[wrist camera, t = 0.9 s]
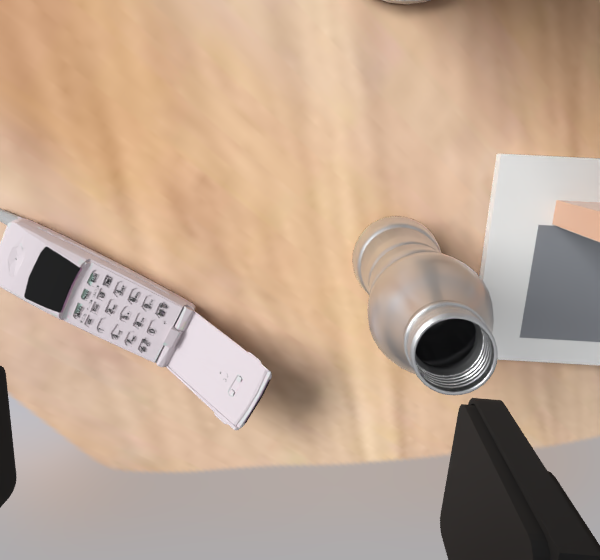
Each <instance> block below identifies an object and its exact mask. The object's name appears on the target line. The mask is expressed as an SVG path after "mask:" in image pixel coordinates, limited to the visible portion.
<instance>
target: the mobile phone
mask: <svg viewBox="0 0 600 560" xmlns="http://www.w3.org/2000/svg"><path fill="white" fill-rule="evenodd" d="M0 221H1V222H2V223H4V224H6V225H7V227H6V230H5V232H4V235H3V237H2V240H1V243H0V287H1V288H3V289H5V290H6V291H8V292H10V293H12V294H14V295H15V296H17V297H19V298H21V299H22V300H24V301H26V302H28V303H30V304H31V305H33V306H35V307H37V308H39V309H41V310H43V311H45V312H47V313H49V314H51V315H52V316H54V317H56V318H58V319H61V320H64V321H66V322H68V323H70V324H72V325H74V326H76V327H78V328H80V329H82V330H84V331H86V332H89V333H91V334H93V335H95V336H97V337H99V338H102V339H104V340H106V341H108V342H110V343H112V344H115V345H117V346H119V347H121V348H123V349H126V350H128V351H130V352H132V353H134V354H136V355H139V356H141V357H143V358H145V359H147V360H150V361H152V362H154V363H155V362H156V363H157V365H158V366H160V367H167V368H168V369H169V370H170V371H171V372H172V373H173V374H174V375H175V376H176V377H177V378H178V379H180V380H181V381H182V382H183V383H184V384H185V385H186V386H187V387H188V388H189V389H190V390H191V391H192V392H193V393H194V394H196V395H197V396H198V397H199V398H200V399H201V400H202V401H203V402H204V403H205V404H206V405H207V406H208V407H209V408H211V409H212V411H214V414H215V416H216V417H217V418H218V419H220V420H221V421H222V422H223V423H224V424H228V425H229V426H230V427H232V428H233V429H234V430H239V429H240V428H241V427H243V426H244V424H245V423H246V422H247V420H248V419H249V417H250V415H251V414H252V412H253V410H254V409H255V407H256V406H257V404H258V402H259V401H260V399H261V398H262V396H263V394H264V392H265V390H266V388H267V386H268V384H269V382H270V380H271V377H272V376H271V372H270V371H269V370H268V369H267V368H266V367H265V366H263V365H262V364H261V361H260V360H259V359H258V358H257V357H255V356H254V355H253V354H252V353H250V352H247V351H246V350H245V349H244V348H242V347H241V346H240V345H239V344H237V343H236V342H235V341H233V340H232V339H231V338H229V337H228V336H227V335H226V334H224V333H223V332H222V331H220V330H219V329H218V328H216V327H215V326H214V325H213V324H211V323H210V322H209V321H207V320H206V319H205V318H204V317H202V316H201V315H200V314H198V313H197V312H196V311H195V305H194V304H193V303H191V302H189V301H188V300H186V299H184V298H183V297H181V296H179V295H177V294H175V293H173V292H172V291H170V290H168V289H166V288H164V287H162V286H160V285H159V284H157V283H155V282H153V281H151V280H149V279H147V278H146V277H144V276H142V275H140V274H138V273H136V272H134V271H133V270H131V269H129V268H127V267H125V266H123V265H121V264H119V263H117V262H115V261H113V260H111V259H109V258H107V257H105V256H103V255H101V254H99V253H97V252H95V251H93V250H91V249H89V248H87V247H85V246H84V245H82V244H80V243H78V242H76V241H74V240H72V239H70V238H68V237H66V236H64V235H62V234H59V233H57V232H55V231H53V230H51V229H49V228H46V227H44V226H42V225H40V224H38V223H36V222H34V221H31V220H29V219H25V218H21V217H19V216H17V215H15V214H12V213H10V212H7V211H5V210H3V209H0ZM103 265H104V266H103ZM105 266H106V267H105Z"/></svg>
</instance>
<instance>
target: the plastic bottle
mask: <svg viewBox="0 0 600 560" xmlns="http://www.w3.org/2000/svg"><path fill="white" fill-rule="evenodd" d="M352 263H353V270H354V273H355V276H356V278H357V280H358V282H359V284H360V285H361V286H362V288H363V289H364V290H365V291H366V292H367V293H368V294H369V299H368V321H369V328H370V331H371V334H372V337H373V339H374V341H375V343H376V344H377V346H378V348H379V349H380V350H381V351H382V352H383V354H384V355H385V356H386V357H387V358H389V359H390V360H391V361H393V362H394V363H395V364H397V365H398V366H399V367H401V368H403V369H405V370H407V371H409V372H411V373H414V374H416V375H417V377H418V378H419V379H420V380H421V381H422V382H423V383H424V384H425V385H426V386H428V387H429V388H430V389H432V390H434V391H436V392H438V393H442V394H446V395H462V394H466V393H469V392H472V391H474V390H476V389H478V388H479V387H481V386H482V385H483V384H485V382H486V381H487V380H488V379H489V378H490V377H491V375H492V373H493V372H494V369H495V367H496V364H497V358H498V352H497V346H496V342H495V339H494V337H493V335H492V331H493V324H494V316H493V305H492V300H491V297H490V293H489V291H488V289H487V287H486V285H485V283H484V281H483V280H482V279H481V278H480V277H479V275H478V274H477V273H476V272H475V271H474V270H472V269H471V268H470V267H469V266H467V265H466V264H464V263H463V262H461V261H459V260H457V259H455V258H453V257H451V256H449V255H446V254H443V253H441V250H440V247H439V244H438V242H437V241H436V239H435V237H434V235H433V234H432V233H431V232H430V230H429V229H428V228H426V227H425V226H424V225H423V224H421V223H420V222H418V221H416V220H414V219H410V218H407V217H400V216H393V217H385V218H382V219H379V220H377V221H375V222H373V223H371V224H370V225H369V226H368V227H367V228H365V229H364V231H363V232H362V233H361V235H360V236H359V238H358V240H357V242H356V244H355V247H354V250H353V258H352Z"/></svg>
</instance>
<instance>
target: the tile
mask: <svg viewBox="0 0 600 560" xmlns="http://www.w3.org/2000/svg"><path fill="white" fill-rule="evenodd" d="M552 224H553V225H556V226H558V227H560V228H563V229H565V230H568V231H571V232H573V233H576V234H579V235H581V236H584V237H587V238H589V239H592V240H595V241H597V242H600V202H585V201H565V200H556V206H555V211H554V217H553V223H552Z"/></svg>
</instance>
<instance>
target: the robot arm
mask: <svg viewBox="0 0 600 560" xmlns="http://www.w3.org/2000/svg"><path fill="white" fill-rule="evenodd" d="M382 1H385V2H388V3H398V4H413V3H422V2H426V1H429V0H382ZM15 484H16V468H15V459H14V449H13V439H12V430H11V420H10V410H9V401H8V391H7V382H6V373H5V370H4V368H3V367H2V366H0V507H1V506H2V505H3V504H4V503H5V501H6V500H7V499H8V498H9V497H10V495H11V493H12V492H13V490H14V487H15ZM440 528H441V535H442V538H443V542H444V546H445V549H446V552H447V556H448V560H600V545H599V544H598V542H597V540H596V539H595V537H594V536H593V535H592V533H591V531H590V530H589V528H588V527H587V525H586V524H585V522H584V521H583V519H582V518H581V516H580V515H579V513H578V511H577V510H576V508H575V507H574V505H573V504H572V502H571V501H570V499H569V498H568V496H567V495H566V493H565V492H564V490H563V488H562V487H561V486H560V484H559V482H558V481H557V479H556V478H555V477H554V475H552V473H551V472H549V471H547V470H546V468H545V467H544V465H543V464H542V462H541V461H540V459H539V458H538V456H537V455H536V453H535V451H534V450H533V448H532V447H531V445H530V443H529V442H528V440H527V439H526V437H525V436H524V434H523V433H522V431H521V429H520V428H519V426H518V425H517V423H516V422H515V420H514V419H513V417H512V415H511V414H510V412H509V411H508V409H507V408H506V406H505V405H504V403H503V402H502V401H501V400H490V399H478V398H472V399H471V400H470V401H469V404H468V405H464V404H462V405H461V406H460V408H459V412H458V417H457V423H456V429H455V434H454V440H453V446H452V452H451V458H450V464H449V469H448V475H447V481H446V487H445V492H444V498H443V504H442V510H441V517H440Z"/></svg>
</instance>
